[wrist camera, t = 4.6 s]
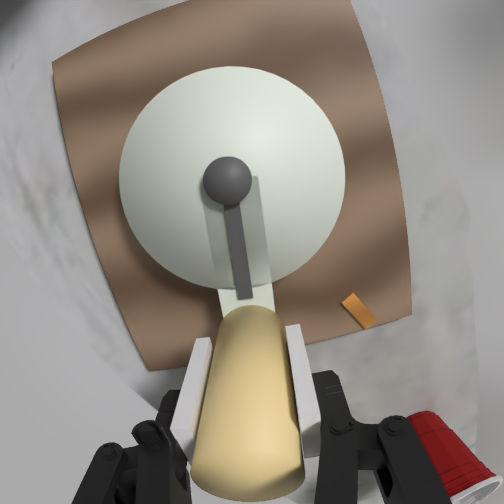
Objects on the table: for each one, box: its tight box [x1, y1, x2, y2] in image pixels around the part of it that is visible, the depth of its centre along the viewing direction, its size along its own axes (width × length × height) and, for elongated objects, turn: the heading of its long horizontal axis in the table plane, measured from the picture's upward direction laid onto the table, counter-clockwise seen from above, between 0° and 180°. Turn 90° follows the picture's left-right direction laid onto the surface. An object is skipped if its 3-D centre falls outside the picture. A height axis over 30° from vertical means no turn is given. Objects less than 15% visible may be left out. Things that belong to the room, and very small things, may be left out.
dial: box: [119, 66, 345, 502], centre depth 13 cm, size 17×12×12 cm
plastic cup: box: [407, 411, 503, 504], centre depth 20 cm, size 11×11×12 cm
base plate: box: [52, 0, 412, 371], centre depth 18 cm, size 24×20×1 cm
